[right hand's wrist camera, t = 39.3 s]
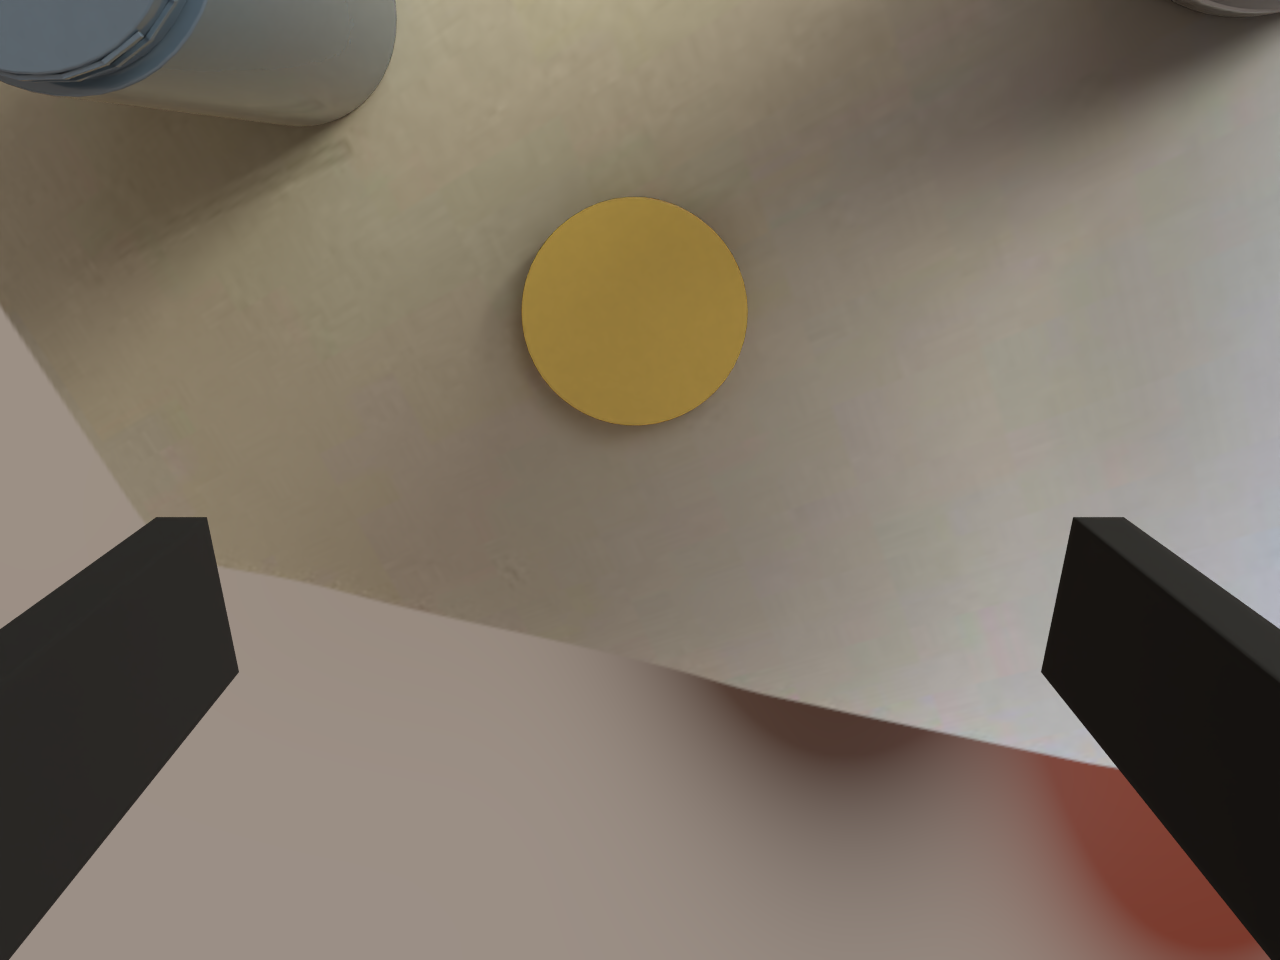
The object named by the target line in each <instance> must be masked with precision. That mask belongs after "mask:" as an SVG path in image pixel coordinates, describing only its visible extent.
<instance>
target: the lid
mask: <svg viewBox="0 0 1280 960" xmlns="http://www.w3.org/2000/svg"><path fill="white" fill-rule="evenodd" d="M521 309H522V326H523V332H524V338H525V341H526V344H527V348H528V351H529V353H530V356H531V358H532V360H533V362H534V364H535V366H536V368H537V370H538V371H539V373H540V374H541V376H542V378H543V379H544V380H545V381H546V383H547V384H548V385H549V386H550V388H551V389H552V390H553V391H554V392H555V393H556V394H557V395H558V396H560V397H561V398H562V399H563V400H564V401H566V402H567V403H568V404H570V405H571V406H572V407H574V408H575V409H577V410H579V411H581V412H583V413H584V414H586V415H589V416H591V417H594V418H596V419H598V420H602V421H606V422H609V423H614V424H621V425H649V424H656V423H660V422H664V421H668V420H671V419H673V418H676V417H679V416H681V415H683V414H685V413H687V412H689V411H691V410H693V409H694V408H696V407H697V406H698V405H700V404H701V403H703V402H704V401H706V400H707V399H708V398H709V397H710V396H711V395H712V394H713V393H714V392H715V391H716V390H717V389H718V388H719V387H720V386H721V384H722V383H723V382H724V381H725V380H726V378H727V376H728V375H729V373H730V372H731V370H732V369H733V367H734V365H735V363H736V361H737V359H738V357H739V354H740V351H741V348H742V345H743V342H744V338H745V333H746V328H747V314H748V309H747V296H746V291H745V286H744V281H743V279H742V276H741V273H740V270H739V267H738V265H737V263H736V261H735V259H734V257H733V255H732V253H731V252H730V250H729V249H728V247H727V246H726V245H725V243H724V242H723V240H722V239H721V238H720V237H719V236H718V235H717V234H716V233H715V231H714V230H713V229H711V228H710V227H709V226H708V225H707V224H706V223H704V222H703V221H702V220H701V219H700V218H698V217H697V216H695V215H693V214H692V213H690V212H689V211H687V210H685V209H683V208H681V207H679V206H677V205H674V204H672V203H669V202H665V201H662V200H659V199H653V198H646V197H624V198H616V199H611V200H607V201H603V202H600V203H597V204H595V205H592V206H590V207H588V208H585V209H584V210H582V211H580V212H579V213H577V214H575V215H574V216H572V217H571V218H569V219H568V220H567V221H566V222H564V223H563V224H562V225H561V226H559V227H558V228H557V229H556V230H555V231H554V232H553V233H552V234H551V236H550V237H549V238H548V239H547V240H546V242H545V243H544V244H543V246H542V247H541V248H540V250H539V251H538V253H537V255H536V257H535V259H534V261H533V263H532V264H531V267H530V270H529V273H528V275H527V278H526V282H525V286H524V291H523V297H522V308H521Z"/></svg>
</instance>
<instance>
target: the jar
mask: <svg viewBox="0 0 1280 960" xmlns="http://www.w3.org/2000/svg"><path fill="white" fill-rule="evenodd" d="M395 36H396V3H395V0H0V81H2V82H4V83H6V84H9V85H12V86H15V87H18V88H21V89H24V90H27V91H31V92H35V93H41V94H46V95H52V96H58V97H66V98H74V99H81V100H89V101H97V102H105V103H113V104H121V105H129V106H137V107H145V108H152V109H160V110H168V111H176V112H184V113H192V114H200V115H208V116H216V117H223V118H231V119H239V120H247V121H255V122H263V123H271V124H279V125H286V126H302V127H305V126H315V125H321V124H325V123H329V122H332V121H334V120H337V119H339V118H341V117H344V116H345V115H347V114H349V113H350V112H352V111H353V110H355V109H356V108H357V107H358V106H360V105H361V104H362V103H363V102H364V101H365V100H366V99H367V98H368V97H369V96H370V95H371V94H372V92H373V91H374V90H375V89H376V87H377V85H378V84H379V82H380V81H381V79H382V77H383V75H384V73H385V71H386V69H387V67H388V64H389V61H390V58H391V55H392V52H393V47H394V41H395Z"/></svg>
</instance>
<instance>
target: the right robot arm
mask: <svg viewBox="0 0 1280 960" xmlns="http://www.w3.org/2000/svg"><path fill="white" fill-rule="evenodd" d="M1171 1H1173V2H1175V3H1177V4H1180V5H1182V6H1184V7H1187V8H1189V9H1192V10H1195V11H1199V12H1202V13H1206V14H1212V15H1218V16H1225V17H1251V16H1262V15H1268V14H1273V13H1279V12H1280V0H1171ZM238 672H239V670H238V665H237V661H236V656H235V651H234V646H233V641H232V637H231V632H230V627H229V622H228V617H227V612H226V608H225V603H224V598H223V593H222V588H221V584H220V579H219V574H218V569H217V564H216V559H215V554H214V550H213V545H212V540H211V535H210V530H209V525H208V521H207V517H156V518H155V519H153V520H152V521H150V522H149V523H148V524H146V525H145V526H143V527H142V528H141V529H139V530H138V531H137V532H135V533H134V534H132V535H131V536H130V537H128V538H127V539H125V540H124V541H123V542H121V543H120V544H118V545H117V546H116V547H114V548H113V549H111V550H110V551H109V552H107V553H106V554H104V555H103V556H102V557H100V558H99V559H97V560H96V561H95V562H93V563H92V564H91V565H89V566H88V567H86V568H85V569H84V570H82V571H81V572H79V573H78V574H77V575H75V576H74V577H72V578H71V579H70V580H68V581H67V582H65V583H64V584H63V585H61V586H60V587H58V588H57V589H56V590H54V591H53V592H51V593H50V594H49V595H47V596H46V597H45V598H43V599H42V600H40V601H39V602H38V603H36V604H35V605H33V606H32V607H31V608H29V609H28V610H26V611H25V612H24V613H22V614H21V615H20V616H18V617H17V618H15V619H14V620H12V621H11V622H10V623H8V624H7V625H6V626H4V627H3V628H1V629H0V960H9V959H10V958H11V956H12V955H13V954H14V953H15V951H16V950H17V949H18V948H19V946H20V945H21V944H22V943H23V941H24V940H25V939H26V938H27V936H28V935H29V934H30V933H31V931H32V930H33V929H34V928H35V926H36V925H37V924H38V923H39V921H40V920H41V919H42V918H43V916H44V915H45V914H46V913H47V911H48V910H49V909H50V908H51V906H52V905H53V904H54V903H55V901H56V900H57V899H58V898H59V896H60V895H61V894H62V893H63V891H64V890H65V889H66V888H67V886H68V885H69V884H70V883H71V881H72V880H73V879H74V878H75V876H76V875H77V874H78V873H79V871H80V870H81V869H82V868H83V866H84V865H85V864H86V863H87V861H88V860H89V859H90V858H91V856H92V855H93V854H94V853H95V851H96V850H97V849H98V848H99V846H100V845H101V844H102V843H103V841H104V840H105V839H106V838H107V836H108V835H109V834H110V833H111V831H112V830H113V829H114V828H115V826H116V825H117V824H118V823H119V821H120V820H121V819H122V818H123V816H124V815H125V814H126V813H127V811H128V810H129V809H130V808H131V806H132V805H133V804H134V803H135V801H136V800H137V799H138V798H139V796H140V795H141V794H142V793H143V791H144V790H145V789H146V788H147V786H148V785H149V784H150V783H151V781H152V780H153V779H154V778H155V776H156V775H157V774H158V772H159V771H160V770H161V769H162V767H163V766H164V765H165V764H166V762H167V761H168V760H169V759H170V758H171V756H172V755H173V754H174V753H175V751H176V750H177V749H178V748H179V746H180V745H181V744H182V742H183V741H184V740H185V739H186V737H187V736H188V735H189V734H190V733H191V731H192V730H193V729H194V728H195V726H196V725H197V724H198V722H199V721H200V720H201V719H202V717H203V716H204V715H205V714H206V713H207V711H208V710H209V709H210V707H211V706H212V705H213V704H214V702H215V701H216V700H217V699H218V698H219V696H220V695H221V694H222V693H223V691H224V690H225V689H226V687H227V686H228V685H229V684H230V682H231V681H232V680H233V679H234V677H235V676H236V675H237V674H238ZM1041 672H1042V674H1043V675H1044V676H1045V677H1046V679H1047V680H1048V681H1049V682H1050V684H1051V685H1052V686H1053V688H1054V689H1055V690H1056V691H1057V693H1058V694H1059V695H1060V696H1061V698H1062V699H1063V700H1064V701H1065V703H1066V704H1067V705H1068V706H1069V708H1070V709H1071V710H1072V711H1073V713H1074V714H1075V715H1076V716H1077V718H1078V719H1079V720H1080V721H1081V723H1082V724H1083V725H1084V726H1085V728H1086V729H1087V730H1088V731H1089V733H1090V734H1091V735H1092V736H1093V738H1094V739H1095V740H1096V741H1097V743H1098V744H1099V745H1100V746H1101V748H1102V749H1103V750H1104V751H1105V753H1106V754H1107V755H1108V756H1109V758H1110V759H1111V760H1112V761H1113V763H1114V764H1115V765H1116V766H1117V768H1118V769H1119V770H1120V771H1121V773H1122V774H1123V775H1124V776H1125V778H1126V779H1127V780H1128V781H1129V782H1130V784H1131V785H1132V786H1133V788H1134V789H1135V790H1136V791H1137V793H1138V794H1139V795H1140V796H1141V798H1142V799H1143V800H1144V801H1145V803H1146V804H1147V805H1148V806H1149V808H1150V809H1151V810H1152V811H1153V812H1154V814H1155V815H1156V816H1157V818H1158V819H1159V820H1160V821H1161V822H1162V824H1163V825H1164V826H1165V828H1166V829H1167V830H1168V831H1169V833H1170V834H1171V835H1172V836H1173V838H1174V839H1175V840H1176V841H1177V843H1178V844H1179V845H1180V846H1181V848H1182V849H1183V850H1184V851H1185V853H1186V854H1187V855H1188V856H1189V858H1190V859H1191V860H1192V861H1193V863H1194V864H1195V865H1196V866H1197V867H1198V869H1199V870H1200V871H1201V872H1202V874H1203V875H1204V876H1205V878H1206V879H1207V880H1208V881H1209V883H1210V884H1211V885H1212V886H1213V888H1214V889H1215V890H1216V891H1217V893H1218V894H1219V895H1220V896H1221V898H1222V899H1223V900H1224V901H1225V903H1226V904H1227V905H1228V906H1229V908H1230V909H1231V910H1232V911H1233V913H1234V914H1235V915H1236V916H1237V918H1238V919H1239V920H1240V921H1241V923H1242V924H1243V925H1244V926H1245V928H1246V929H1247V930H1248V931H1249V933H1250V934H1251V935H1252V936H1253V938H1254V939H1255V940H1256V941H1257V943H1258V944H1259V945H1260V946H1261V948H1262V949H1263V950H1264V951H1265V953H1266V954H1267V955H1268V956H1269V958H1270V959H1271V960H1280V629H1279V628H1277V627H1276V626H1275V625H1273V624H1272V623H1270V622H1269V621H1268V620H1266V619H1265V618H1263V617H1262V616H1261V615H1259V614H1258V613H1256V612H1255V611H1254V610H1252V609H1251V608H1249V607H1248V606H1247V605H1245V604H1244V603H1242V602H1241V601H1240V600H1238V599H1237V598H1235V597H1234V596H1233V595H1231V594H1230V593H1229V592H1227V591H1226V590H1224V589H1223V588H1222V587H1220V586H1219V585H1217V584H1216V583H1215V582H1213V581H1212V580H1210V579H1209V578H1208V577H1206V576H1205V575H1203V574H1202V573H1201V572H1199V571H1198V570H1196V569H1195V568H1194V567H1192V566H1191V565H1189V564H1188V563H1187V562H1185V561H1184V560H1183V559H1181V558H1180V557H1178V556H1177V555H1176V554H1174V553H1173V552H1171V551H1170V550H1169V549H1167V548H1166V547H1164V546H1163V545H1162V544H1160V543H1159V542H1157V541H1156V540H1155V539H1153V538H1152V537H1150V536H1149V535H1148V534H1146V533H1145V532H1143V531H1142V530H1141V529H1139V528H1138V527H1137V526H1135V525H1134V524H1132V523H1131V522H1130V521H1128V520H1127V519H1125V518H1124V517H1073V521H1072V525H1071V530H1070V535H1069V540H1068V545H1067V550H1066V554H1065V559H1064V564H1063V569H1062V574H1061V579H1060V583H1059V588H1058V593H1057V598H1056V603H1055V608H1054V612H1053V617H1052V622H1051V627H1050V632H1049V636H1048V641H1047V646H1046V651H1045V656H1044V661H1043V665H1042V670H1041Z"/></svg>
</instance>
